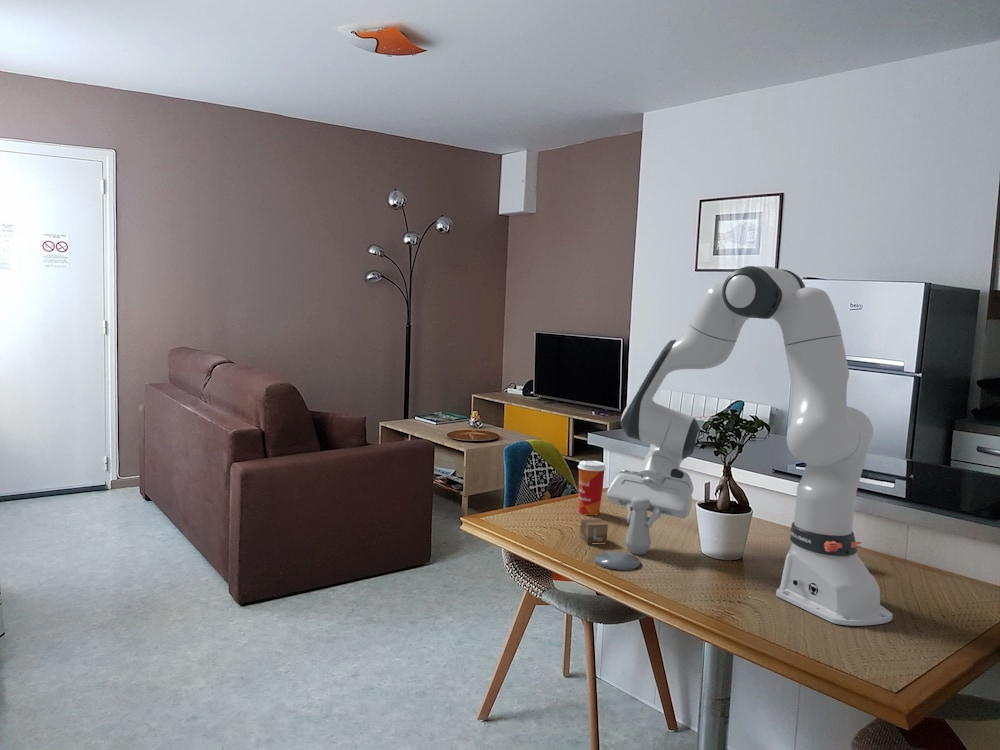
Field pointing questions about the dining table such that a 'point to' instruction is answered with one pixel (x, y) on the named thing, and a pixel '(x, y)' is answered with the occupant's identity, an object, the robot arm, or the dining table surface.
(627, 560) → the coaster
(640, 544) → the salt shaker
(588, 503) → the paper cup
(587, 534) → the cube
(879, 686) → the dining table surface
